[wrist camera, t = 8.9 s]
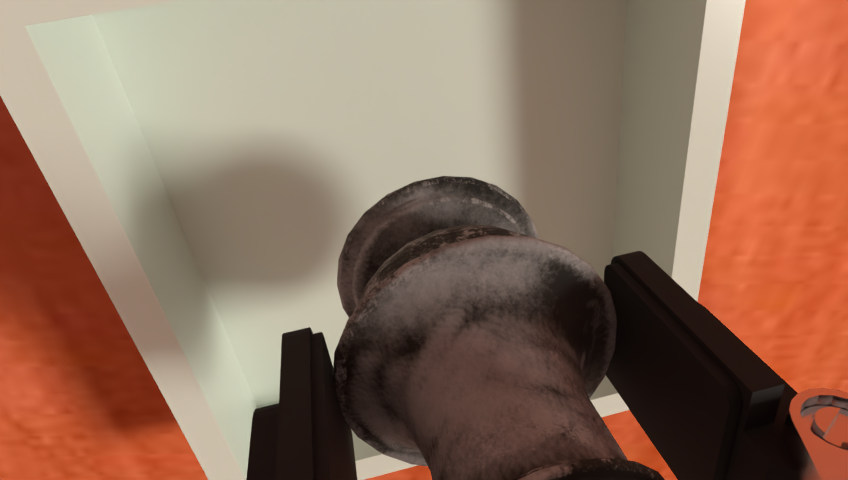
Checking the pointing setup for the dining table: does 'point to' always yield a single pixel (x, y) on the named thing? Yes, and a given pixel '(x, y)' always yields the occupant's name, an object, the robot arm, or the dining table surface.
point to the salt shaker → (474, 340)
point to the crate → (349, 156)
